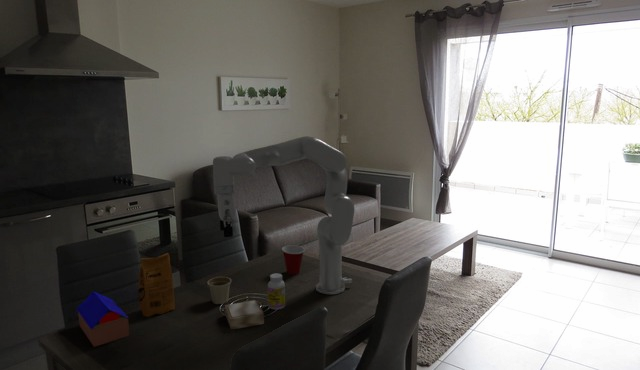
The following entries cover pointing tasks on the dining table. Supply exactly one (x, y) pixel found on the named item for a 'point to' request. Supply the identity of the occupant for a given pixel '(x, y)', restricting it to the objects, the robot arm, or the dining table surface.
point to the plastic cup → (293, 258)
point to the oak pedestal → (244, 314)
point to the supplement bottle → (276, 292)
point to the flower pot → (219, 289)
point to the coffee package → (156, 286)
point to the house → (102, 319)
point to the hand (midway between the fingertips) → (226, 233)
